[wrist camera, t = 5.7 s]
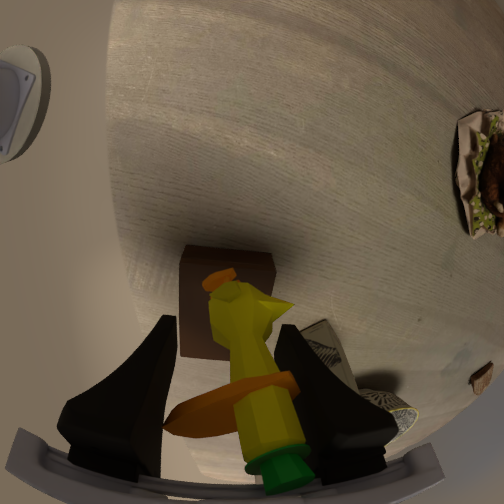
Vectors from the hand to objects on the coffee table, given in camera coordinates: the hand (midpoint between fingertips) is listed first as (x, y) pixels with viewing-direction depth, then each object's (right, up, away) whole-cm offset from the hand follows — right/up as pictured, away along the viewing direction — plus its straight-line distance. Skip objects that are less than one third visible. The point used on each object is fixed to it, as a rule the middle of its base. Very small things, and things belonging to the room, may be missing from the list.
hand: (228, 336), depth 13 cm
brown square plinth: (-1, 0, +12) cm, 12 cm away
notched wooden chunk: (+52, -23, +28) cm, 63 cm away
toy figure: (-1, +2, +4) cm, 4 cm away
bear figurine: (+27, +12, +8) cm, 31 cm away
